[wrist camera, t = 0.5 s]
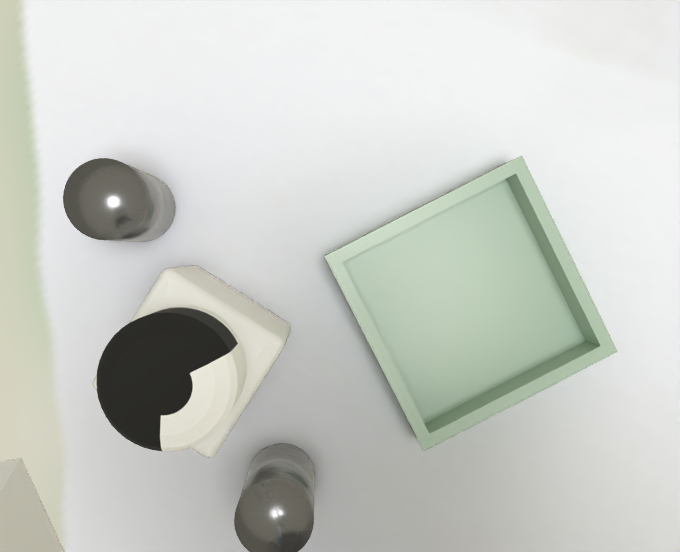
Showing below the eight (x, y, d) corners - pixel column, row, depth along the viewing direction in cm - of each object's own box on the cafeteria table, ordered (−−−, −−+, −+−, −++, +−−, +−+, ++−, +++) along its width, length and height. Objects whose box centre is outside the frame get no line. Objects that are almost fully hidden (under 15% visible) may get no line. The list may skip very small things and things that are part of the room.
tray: (596, 344, 42) (617, 351, 39) (416, 436, 42) (423, 451, 39) (507, 162, 42) (522, 155, 39) (324, 255, 41) (324, 256, 38)
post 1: (187, 222, 41) (159, 217, 34) (127, 253, 41) (87, 254, 34) (155, 162, 41) (121, 144, 34) (95, 193, 41) (48, 181, 34)
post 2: (326, 489, 42) (327, 537, 35) (267, 519, 42) (256, 573, 35) (296, 431, 42) (291, 468, 35) (237, 462, 42) (220, 504, 35)
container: (131, 361, 41) (44, 412, 28) (193, 262, 41) (134, 268, 28) (231, 423, 42) (190, 501, 29) (293, 325, 42) (280, 359, 29)
